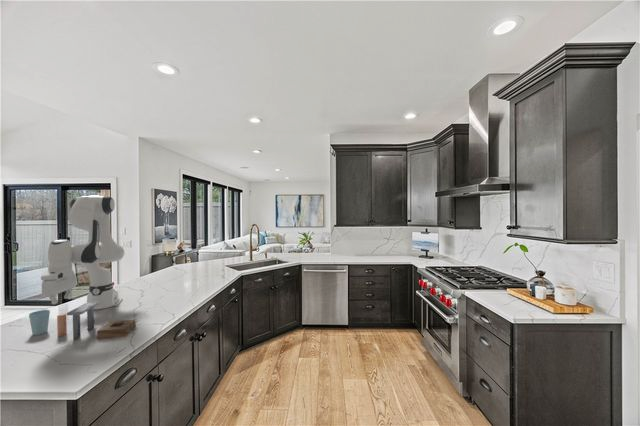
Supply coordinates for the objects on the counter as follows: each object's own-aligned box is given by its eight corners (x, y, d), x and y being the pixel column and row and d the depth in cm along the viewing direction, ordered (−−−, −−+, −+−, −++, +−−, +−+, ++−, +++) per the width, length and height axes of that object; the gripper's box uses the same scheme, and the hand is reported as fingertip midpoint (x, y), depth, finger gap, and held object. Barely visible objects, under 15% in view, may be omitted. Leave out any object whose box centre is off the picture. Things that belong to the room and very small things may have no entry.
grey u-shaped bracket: (85, 328, 153) (85, 303, 153) (99, 327, 155) (98, 302, 154) (67, 340, 139) (67, 312, 139) (82, 339, 140) (81, 311, 140)
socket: (109, 329, 152) (109, 321, 152) (135, 327, 154) (135, 319, 154) (97, 339, 140) (97, 330, 140) (125, 336, 142) (125, 328, 142)
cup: (30, 337, 143) (30, 316, 143) (28, 333, 148) (27, 312, 148) (51, 332, 149) (51, 311, 149) (48, 328, 154) (48, 308, 154)
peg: (60, 334, 147) (60, 314, 147) (68, 333, 148) (67, 313, 147) (55, 336, 144) (55, 316, 143) (64, 336, 144) (63, 315, 144)
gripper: (66, 269, 155) (67, 295, 155) (38, 277, 135) (38, 307, 135) (80, 268, 156) (80, 294, 156) (54, 276, 136) (54, 306, 136)
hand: (61, 301), depth 145 cm, fingers open, 8 cm apart
